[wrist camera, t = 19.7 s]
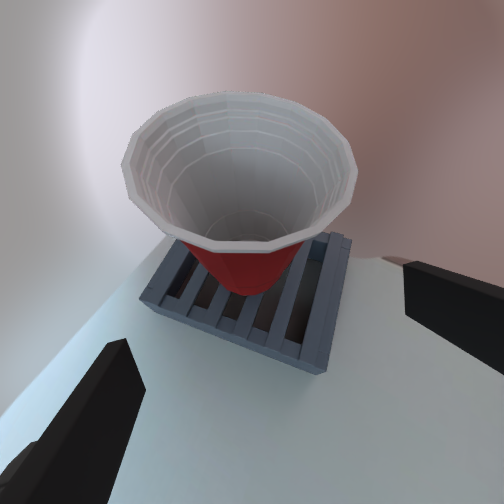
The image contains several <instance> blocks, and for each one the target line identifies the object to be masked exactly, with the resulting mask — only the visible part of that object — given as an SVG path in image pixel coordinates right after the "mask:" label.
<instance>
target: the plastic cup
mask: <svg viewBox="0 0 504 504" xmlns="http://www.w3.org/2000/svg"><path fill="white" fill-rule="evenodd" d="M121 167H122V171H123V175H124V179H125V184H126V187H127V192H128V196H129V199H130V200H131V201H132V202H133V203H134V204H135V205H136V206H137V207H138V208H139V209H140V210H141V211H142V212H143V213H144V214H145V215H146V216H147V217H148V218H149V219H150V220H151V221H152V222H153V223H154V224H155V225H156V226H157V227H158V228H159V229H160V230H161V231H162V232H164V233H165V234H166V235H169V236H171V237H174V238H177V239H179V240H180V241H181V242H182V243H183V244H184V245H185V246H186V247H187V248H188V249H189V250H190V251H191V253H192V254H193V255H194V256H195V257H196V258H197V259H198V261H199V262H200V263H201V264H202V265H203V266H204V267H205V269H206V270H207V271H208V272H209V273H211V274H212V275H213V276H214V277H215V278H216V279H217V280H218V281H219V282H220V283H221V284H222V285H223V286H224V287H225V288H226V289H227V290H229V291H231V292H234V293H237V294H239V295H257V294H259V293H262V292H264V291H266V290H268V289H270V288H271V287H272V286H273V285H274V284H275V283H276V282H277V281H278V280H279V278H280V276H281V275H282V273H283V271H284V270H285V269H286V268H287V267H288V266H289V264H290V263H291V261H292V260H293V258H294V257H295V255H296V254H297V252H298V251H299V249H300V247H301V246H302V244H303V243H304V241H305V240H307V239H310V238H313V237H315V236H317V235H318V234H320V233H321V232H322V231H323V230H324V229H325V228H326V227H327V226H328V225H329V224H330V223H331V222H332V221H333V220H334V219H335V218H336V217H337V216H338V215H339V214H340V213H341V212H342V211H343V210H344V209H345V208H346V207H347V206H348V205H350V203H351V199H352V195H353V191H354V187H355V183H356V179H357V175H358V168H357V165H356V162H355V160H354V157H353V153H352V150H351V148H350V145H349V142H348V141H347V140H346V139H345V138H344V137H343V136H342V134H341V133H340V132H339V131H338V130H337V129H336V128H335V127H334V126H333V125H332V124H331V123H330V122H329V121H328V120H327V119H326V118H325V117H323V116H321V115H319V114H317V113H315V112H313V111H312V110H310V109H308V108H306V107H304V106H302V105H301V104H299V103H297V102H294V101H291V100H287V99H283V98H279V97H275V96H271V95H268V94H264V93H255V92H254V93H253V92H231V91H223V92H217V93H212V94H206V95H200V96H194V97H189V98H187V99H184V100H182V101H180V102H178V103H175V104H173V105H171V106H169V107H166V108H164V109H162V110H160V111H158V112H156V113H155V114H154V115H153V116H152V117H151V118H150V119H148V120H147V121H146V122H145V123H144V124H143V125H142V126H141V127H140V128H139V129H138V130H137V131H135V132H134V133H133V134H132V137H131V139H130V142H129V144H128V147H127V150H126V152H125V155H124V158H123V160H122V163H121Z"/></svg>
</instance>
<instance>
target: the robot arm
mask: <svg viewBox="0 0 504 504" xmlns="http://www.w3.org/2000/svg"><path fill="white" fill-rule="evenodd" d="M403 275H404V297H405V315H407V316H408V317H410V318H412V319H413V320H415V321H417V322H418V323H420V324H421V325H423V326H425V327H426V328H428V329H430V330H431V331H433V332H434V333H436V334H438V335H439V336H441V337H443V338H444V339H446V340H448V341H449V342H451V343H452V344H454V345H456V346H457V347H459V348H461V349H462V350H464V351H465V352H467V353H469V354H470V355H472V356H474V357H475V358H477V359H478V360H480V361H482V362H483V363H485V364H487V365H488V366H490V367H492V368H493V369H495V370H496V371H498V372H500V373H501V374H503V375H504V288H502V287H499V286H496V285H492V284H490V283H486V282H483V281H480V280H476V279H473V278H470V277H467V276H464V275H461V274H458V273H455V272H451V271H448V270H445V269H442V268H439V267H436V266H432V265H429V264H426V263H423V262H419V261H414V262H410V263H407V264H403ZM145 392H146V389H145V386H144V383H143V381H142V378H141V376H140V373H139V371H138V368H137V365H136V363H135V360H134V358H133V355H132V353H131V350H130V347H129V345H128V342H127V340H126V338H124V339H121V340H117V341H113V342H109V343H107V344H106V346H105V347H104V348H103V350H102V351H101V353H100V354H99V355H98V357H97V358H96V360H95V361H94V362H93V364H92V365H91V367H90V368H89V369H88V371H87V372H86V374H85V375H84V377H83V378H82V379H81V381H80V382H79V384H78V385H77V386H76V388H75V389H74V391H73V392H72V393H71V395H70V396H69V398H68V399H67V400H66V402H65V403H64V405H63V406H62V407H61V409H60V410H59V412H58V413H57V414H56V416H55V417H54V419H53V420H52V421H51V423H50V424H49V426H48V427H47V429H46V430H45V431H44V433H43V434H42V436H41V437H40V438H39V440H38V441H35V442H31V443H30V444H29V445H28V446H27V447H26V448H25V449H24V450H23V451H22V452H21V453H20V454H19V455H18V456H17V457H16V458H14V459H13V460H12V461H11V462H10V463H9V464H8V466H7V467H6V468H5V470H4V471H3V472H2V474H1V475H0V504H107V503H108V500H109V498H110V495H111V492H112V489H113V486H114V483H115V480H116V477H117V474H118V471H119V468H120V465H121V462H122V459H123V456H124V453H125V450H126V447H127V445H128V442H129V439H130V436H131V433H132V430H133V427H134V424H135V421H136V418H137V415H138V412H139V409H140V406H141V403H142V400H143V397H144V395H145Z"/></svg>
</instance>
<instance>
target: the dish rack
mask: <svg viewBox="0 0 504 504" xmlns="http://www.w3.org/2000/svg"><path fill="white" fill-rule="evenodd" d="M343 236H344V235H343V234H339V233H335V232H331V233H330V234H328V233H325V232H321V233H320V234H318V235H317V236H315V237H313V238H310V239H307V240H305V241H304V243H303V244H302V246H301V247H300V249H299V251H298V252H297V254H296V255H295V257H294V258H293V260H292V263H291V266H290V269H289V272H288V275H287V279H286V282H285V285H284V288H283V291H282V294H281V297H280V300H279V303H278V306H277V309H276V312H275V315H274V318H273V321H272V324H271V327H270V331H269V332H266V331H264V330H261V329H258V328H256V327H253V326H252V325H253V322H254V320H255V317H256V314H257V311H258V309H259V306H260V303H261V300H262V298H263V295H264V292H265V291H264V292H262V293H259V294H257V295H247V298H246V300H245V303H244V305H243V308H242V310H241V313H240V315H239V318H238V320H234V319H231V318H229V317H226V316H223V315H222V314H223V312H224V309H225V307H226V305H227V302H228V300H229V298H230V295H231V293H232V292H231V291H229V290H227V289H226V288H225V287H224V286H223V285H222V284H221V283H220V284H219V287H218V289H217V291H216V293H215V295H214V297H213V299H212V301H211V303H210V306H209V308H208V310H207V309H204V308H202V307H199V306H196V305H194V302H195V300H196V298H197V296H198V294H199V292H200V291H201V289H202V287H203V285H204V283H205V281H206V279H207V277H208V275H209V272H208V271H207V270H206V269H205V267H204V266H203V265H202V264H201V263H200V262H199V264H198V266H197V268H196V269H195V271H194V273H193V275H192V277H191V279H190V281H189V282H188V284H187V286H186V288H185V290H184V292H183V293H182V295H181V297H180V299H178V298H175V296H176V294H177V292H178V290H179V289H180V287H181V285H182V283H183V281H184V280H185V278H186V276H187V274H188V272H189V271H190V269H191V267H192V265H193V263H194V262H195V260H196V257H195V256H194V255H193V254H192V253H191V251H190V250H189V249H188V248H187V247H186V246H185V245H184V244H183V243H182V242H181V241H180V240H179V239H176V241H175V242H174V244H173V245H172V247H171V249H170V250H169V252H168V253H167V255H166V256H165V258H164V260H163V261H162V263H161V264H160V266H159V268H158V269H157V271H156V272H155V274H154V275H153V277H152V279H151V280H150V282H149V283H148V285H147V287H146V288H145V289H144V291H143V293H142V294H141V296H140V297H139V300H140V301H142V302H143V303H144V304H145V305H147V306H148V307H149V308H150V309H152V310H153V311H154V312H156V313H159V314H162V315H164V316H167V317H169V318H172V319H174V320H177V321H179V322H182V323H184V324H187V325H190V326H192V327H195V328H197V329H200V330H202V331H205V332H207V333H210V334H212V335H215V336H218V337H220V338H223V339H225V340H228V341H230V342H233V343H235V344H238V345H240V346H243V347H246V348H248V349H251V350H253V351H256V352H258V353H261V354H263V355H266V356H268V357H271V358H273V359H276V360H279V361H281V362H284V363H286V364H289V365H291V366H294V367H296V368H299V369H301V370H304V371H307V372H309V373H312V374H314V375H318V374H321V373H324V372H326V371H327V366H328V360H329V354H330V350H331V345H332V340H333V335H334V330H335V324H336V319H337V314H338V309H339V304H340V299H341V294H342V289H343V284H344V278H345V273H346V268H347V263H348V258H349V253H350V248H351V243H352V240H351V239H347V238H343ZM307 258H310V259H313V260H316V261H320V262H323V264H322V268H321V271H320V275H319V279H318V283H317V287H316V291H315V295H314V299H313V303H312V307H311V311H310V315H309V319H308V323H307V327H306V331H305V334H304V338H303V342H302V345H301V344H299V343H296V342H293V341H291V340H288V339H285V338H284V337H285V333H286V330H287V326H288V323H289V319H290V316H291V313H292V309H293V306H294V302H295V299H296V296H297V292H298V289H299V285H300V282H301V278H302V275H303V272H304V268H305V265H306V261H307Z"/></svg>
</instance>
